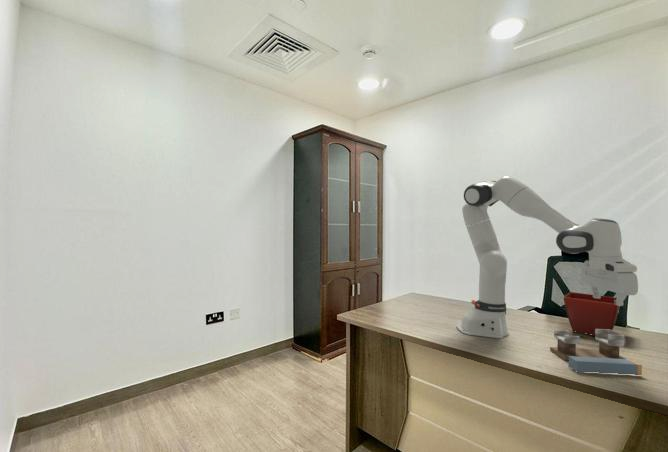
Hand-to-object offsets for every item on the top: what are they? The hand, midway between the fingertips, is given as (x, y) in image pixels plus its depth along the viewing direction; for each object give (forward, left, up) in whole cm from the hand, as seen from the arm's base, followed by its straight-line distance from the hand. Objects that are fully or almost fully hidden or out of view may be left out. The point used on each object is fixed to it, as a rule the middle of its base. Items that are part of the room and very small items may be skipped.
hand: (607, 301), depth 106 cm
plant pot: (+21, +38, -23) cm, 49 cm away
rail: (-5, -5, -23) cm, 24 cm away
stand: (-2, +7, -23) cm, 24 cm away
